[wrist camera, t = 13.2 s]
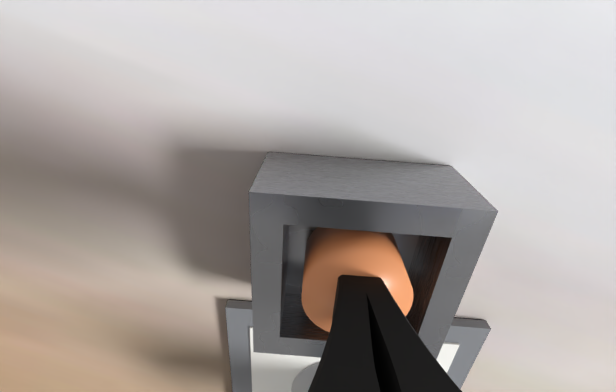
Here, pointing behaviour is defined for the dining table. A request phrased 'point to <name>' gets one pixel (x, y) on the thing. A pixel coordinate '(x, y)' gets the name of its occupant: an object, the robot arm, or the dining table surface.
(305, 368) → the board
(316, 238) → the button
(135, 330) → the dining table surface
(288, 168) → the button housing
